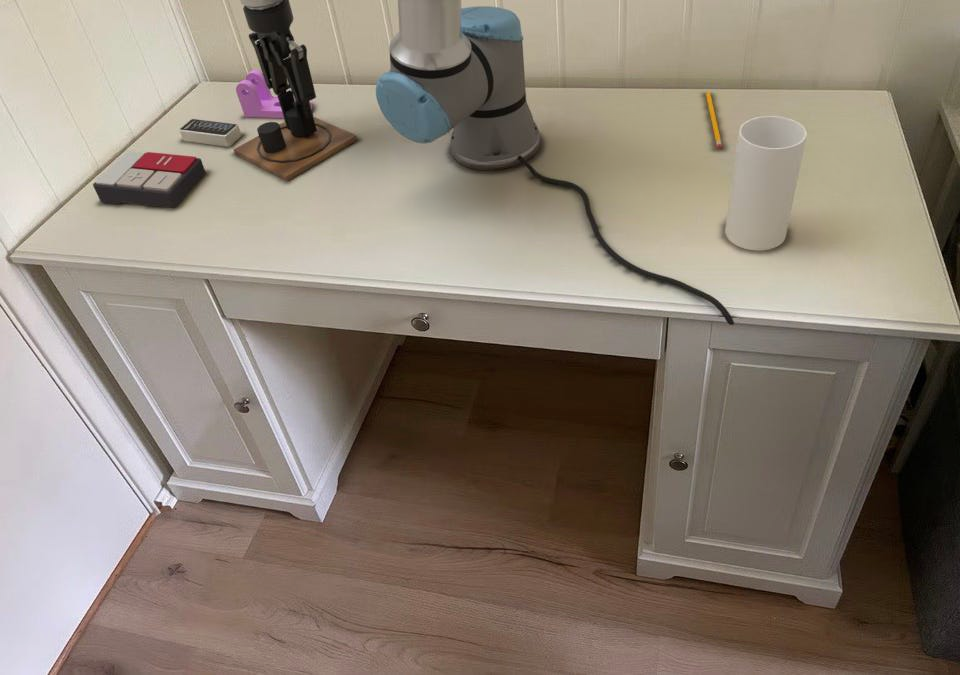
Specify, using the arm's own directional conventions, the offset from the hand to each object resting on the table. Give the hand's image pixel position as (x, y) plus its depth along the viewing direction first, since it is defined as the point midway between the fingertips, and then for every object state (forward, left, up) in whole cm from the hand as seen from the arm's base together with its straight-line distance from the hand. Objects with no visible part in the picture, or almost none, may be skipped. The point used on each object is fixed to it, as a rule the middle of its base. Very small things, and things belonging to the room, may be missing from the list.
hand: (302, 129), depth 144 cm
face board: (-2, +3, -2) cm, 4 cm away
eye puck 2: (0, 0, 0) cm, 0 cm away
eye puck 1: (0, +6, -1) cm, 6 cm away
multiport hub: (+15, +10, -2) cm, 19 cm away
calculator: (+9, +26, -2) cm, 28 cm away
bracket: (+12, -4, -2) cm, 13 cm away
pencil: (-59, -44, -2) cm, 73 cm away
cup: (-80, -20, -2) cm, 82 cm away
